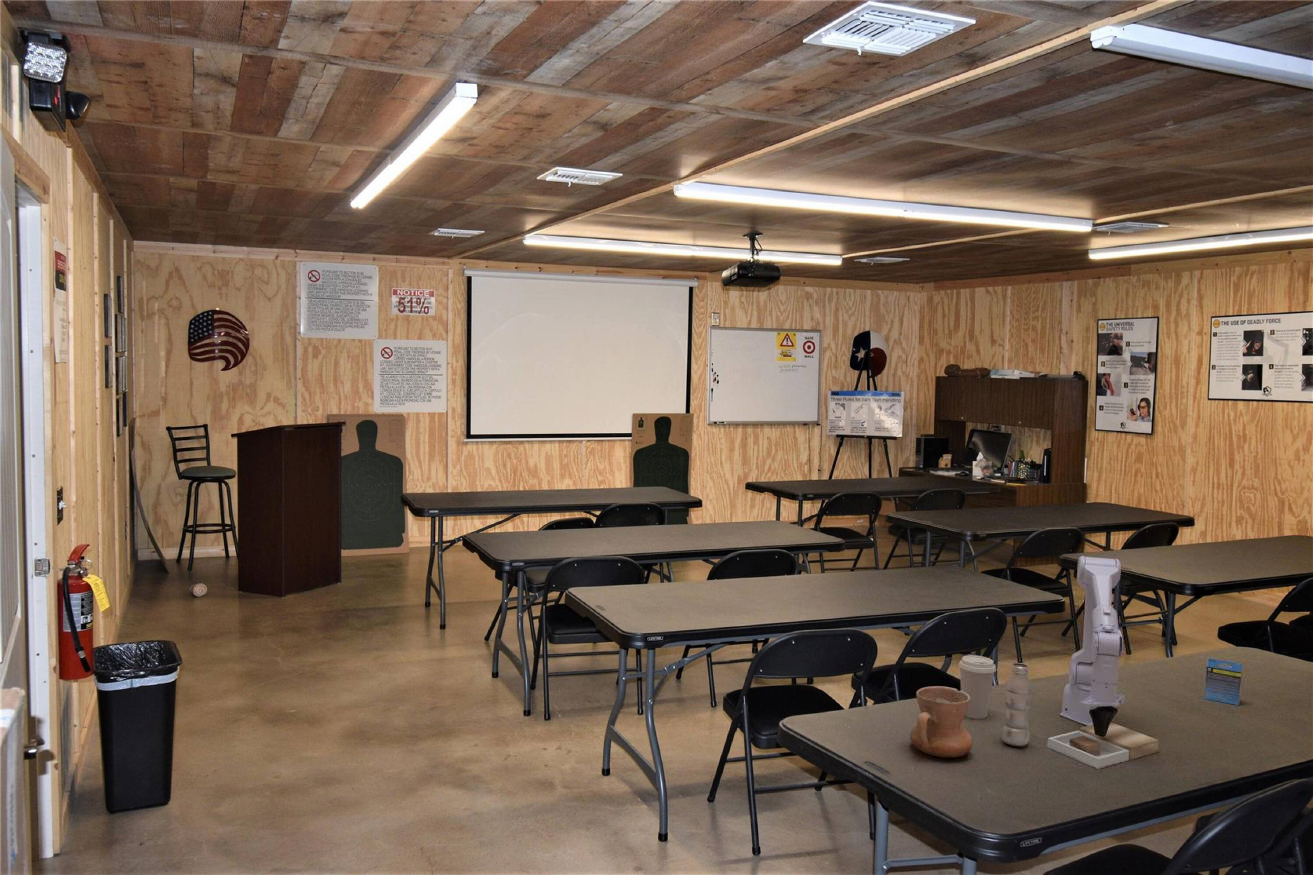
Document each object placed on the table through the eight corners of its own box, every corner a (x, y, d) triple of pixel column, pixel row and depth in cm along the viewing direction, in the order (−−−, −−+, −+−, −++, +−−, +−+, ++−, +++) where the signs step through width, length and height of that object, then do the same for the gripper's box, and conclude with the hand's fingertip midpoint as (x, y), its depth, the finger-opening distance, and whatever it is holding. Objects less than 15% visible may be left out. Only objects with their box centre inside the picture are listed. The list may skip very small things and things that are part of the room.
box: (1047, 747, 243) (1047, 737, 243) (1077, 739, 249) (1078, 730, 249) (1097, 768, 231) (1098, 758, 231) (1128, 760, 237) (1129, 750, 237)
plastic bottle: (1028, 741, 247) (1033, 663, 245) (1029, 751, 240) (1034, 670, 239) (1000, 737, 249) (1006, 659, 247) (1000, 746, 243) (1006, 667, 241)
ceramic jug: (936, 733, 250) (938, 678, 248) (987, 752, 238) (989, 694, 237) (891, 751, 238) (893, 693, 237) (942, 771, 227) (945, 711, 226)
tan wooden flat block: (1079, 739, 250) (1080, 727, 249) (1106, 732, 255) (1107, 720, 255) (1130, 759, 238) (1131, 747, 237) (1157, 751, 243) (1158, 739, 243)
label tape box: (1239, 702, 283) (1243, 660, 282) (1239, 706, 280) (1242, 663, 279) (1204, 695, 288) (1208, 654, 287) (1203, 699, 284) (1207, 657, 283)
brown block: (1083, 735, 243) (1082, 747, 243) (1069, 738, 241) (1068, 750, 241) (1101, 742, 239) (1100, 754, 239) (1087, 746, 236) (1086, 758, 236)
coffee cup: (953, 717, 262) (957, 661, 261) (957, 705, 271) (960, 652, 270) (991, 723, 258) (995, 667, 257) (994, 711, 267) (997, 657, 266)
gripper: (1100, 690, 234) (1095, 745, 235) (1137, 681, 242) (1133, 735, 243) (1074, 681, 240) (1070, 735, 241) (1111, 673, 248) (1107, 726, 249)
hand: (1100, 735), depth 242 cm, fingers closed
